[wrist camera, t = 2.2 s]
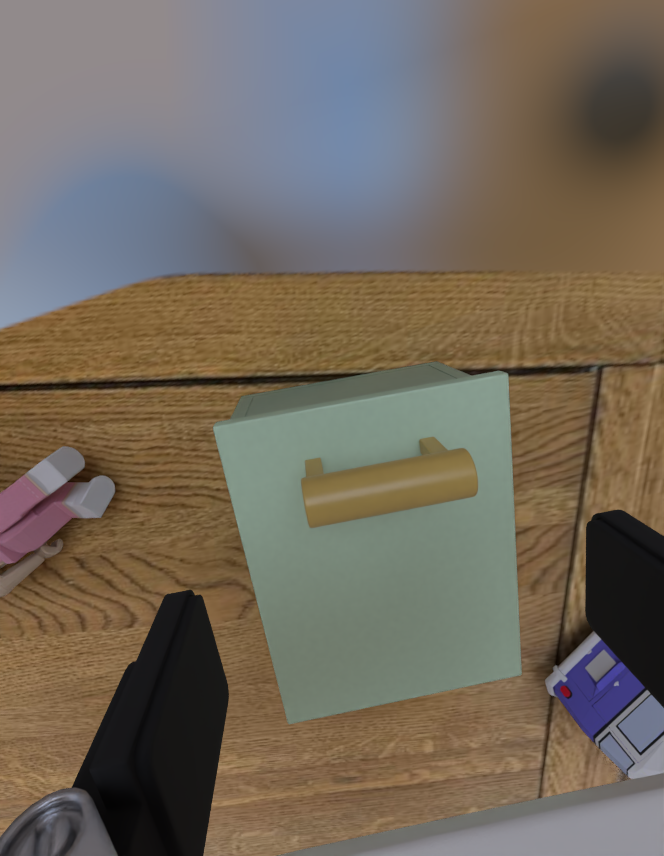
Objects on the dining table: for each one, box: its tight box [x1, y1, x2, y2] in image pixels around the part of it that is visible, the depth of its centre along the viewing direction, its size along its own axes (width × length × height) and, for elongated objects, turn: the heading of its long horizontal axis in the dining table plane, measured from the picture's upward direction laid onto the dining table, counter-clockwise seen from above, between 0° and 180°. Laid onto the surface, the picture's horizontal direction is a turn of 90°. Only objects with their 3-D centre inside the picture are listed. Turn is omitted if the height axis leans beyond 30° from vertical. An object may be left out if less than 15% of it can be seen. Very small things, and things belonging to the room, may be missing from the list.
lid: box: [213, 371, 522, 724], centre depth 19 cm, size 16×13×5 cm
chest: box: [230, 361, 471, 420], centre depth 26 cm, size 16×13×9 cm
